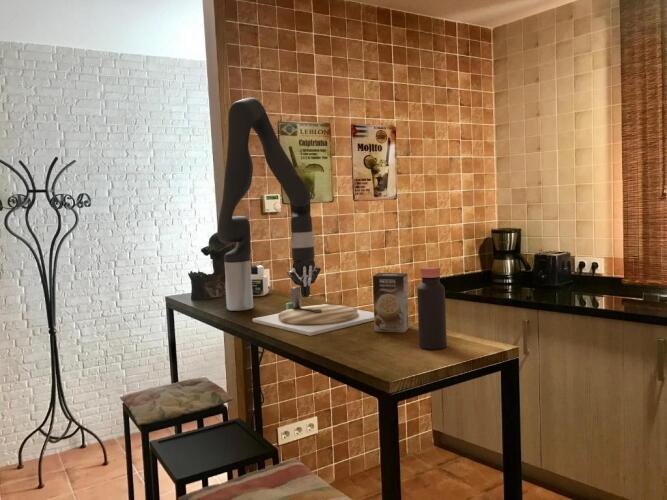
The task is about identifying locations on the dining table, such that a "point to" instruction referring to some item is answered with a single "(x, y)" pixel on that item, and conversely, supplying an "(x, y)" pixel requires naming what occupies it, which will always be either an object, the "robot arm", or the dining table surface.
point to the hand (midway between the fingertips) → (305, 297)
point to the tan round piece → (315, 312)
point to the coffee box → (390, 302)
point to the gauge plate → (313, 328)
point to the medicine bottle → (259, 281)
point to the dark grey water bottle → (431, 310)
